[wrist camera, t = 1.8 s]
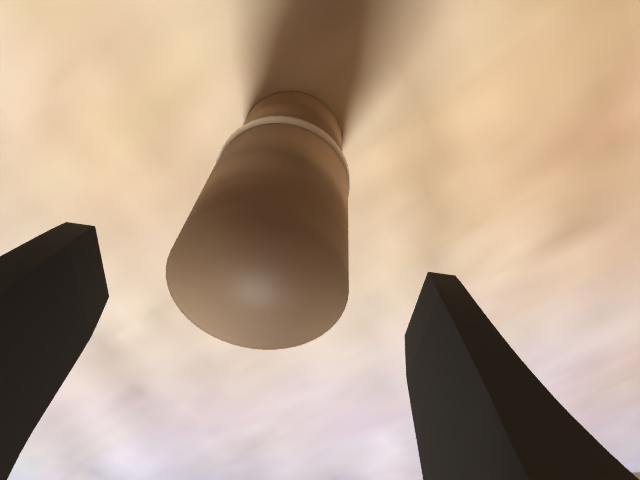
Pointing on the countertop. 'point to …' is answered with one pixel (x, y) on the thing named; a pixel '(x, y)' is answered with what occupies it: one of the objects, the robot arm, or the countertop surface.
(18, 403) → the robot arm
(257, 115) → the walnut peg
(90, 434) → the countertop surface
